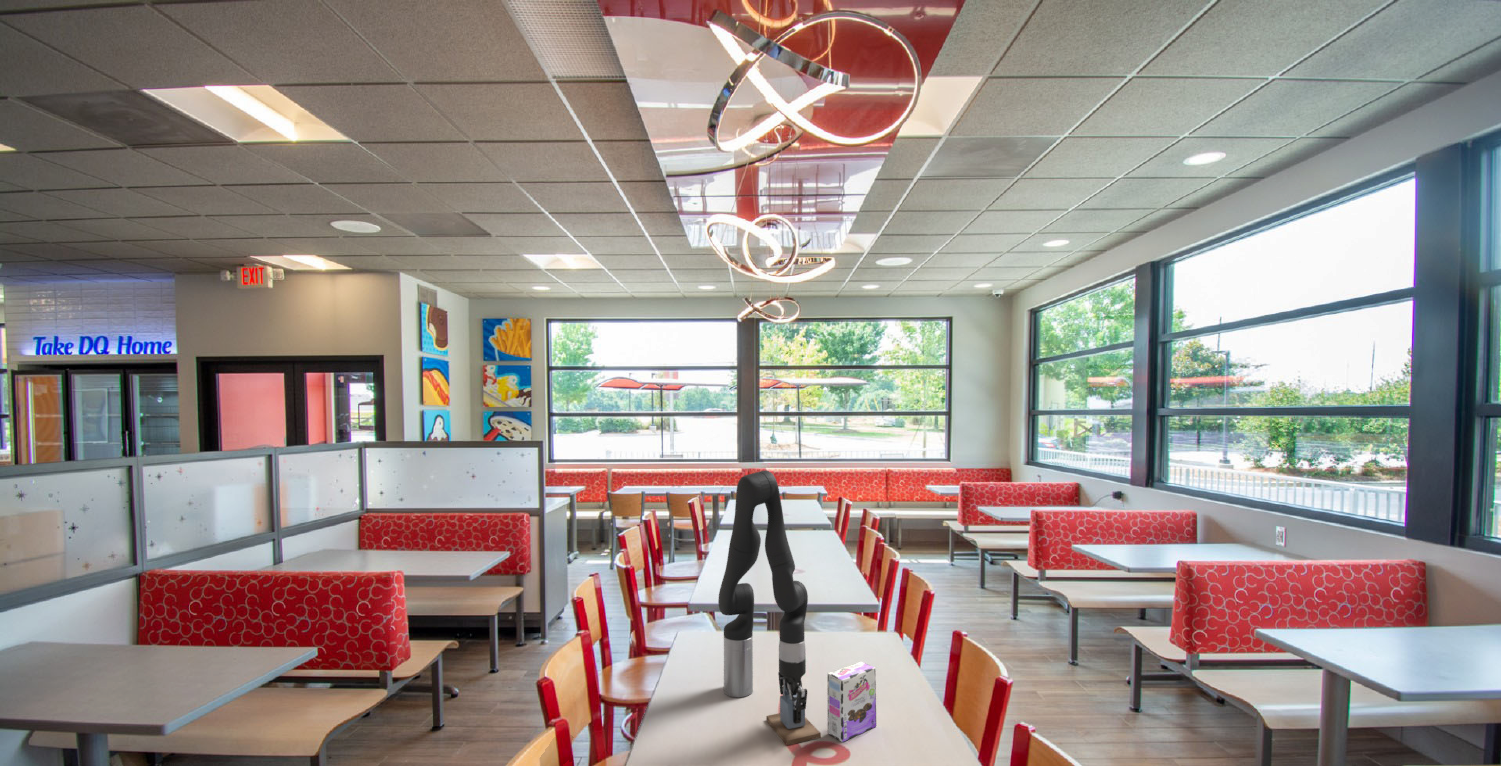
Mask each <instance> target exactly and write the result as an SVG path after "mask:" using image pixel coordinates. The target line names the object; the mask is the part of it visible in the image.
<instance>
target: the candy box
mask: <svg viewBox="0 0 1501 766" xmlns="http://www.w3.org/2000/svg"><path fill="white" fill-rule="evenodd" d="M876 681H877V679H876V667H875V666H873V665H870V664H868V663H865V662H863V661H859V662H857V663H854V664H851V665H848V666H844V667H842V668H840V669H839V668H838V669H837V670H834V671H831V672H827V734H829V735H830V736H832V737H833V738H835V739H836V740H838V741H840V742H841V743H842V742H845V741H848V740H850V739H852V738H854V737H856V736H859V735H861V734H863V733H866V732H867V731H870V730H872V729H874V728H877V689H876V688H877V686H876V685H877V684H876Z"/></svg>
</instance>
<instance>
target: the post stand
mask: <svg viewBox="0 0 1501 766" xmlns="http://www.w3.org/2000/svg"><path fill="white" fill-rule="evenodd" d="M765 719H766V720H765V721H767V723H768V724H769V725H770V726H771V728H772V729H773V730H774V731H775V732H776V734H778V736H779V737H780V738H781V739H782V740H783V742H784V743H785V745H787V746H790V745H794V744H799V743H803V742H807V741H811V740H817V739H821V737H822V736H821V735H822V733H821V732H820V730H818V729H817V727H816V726H815V725H814V724H812V722H811V721H810V720H809V719H808V718H807V717H806V716H805V726H801V727H796V728H792V729H788V728H787V727H786V726H785V725H784V724H783V723H782V722H781V721H780V712H778V713H774V714H769V715H766V718H765ZM816 738H817V739H816Z"/></svg>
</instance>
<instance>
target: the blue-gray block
mask: <svg viewBox="0 0 1501 766" xmlns="http://www.w3.org/2000/svg"><path fill="white" fill-rule="evenodd" d="M793 697H797V695H793ZM796 701H797V700H796ZM796 701H795V702H796ZM779 707H780V708H779V713H780V721H781V722H782V723H783V724H784V725H785V726H786V727H787V728H788V729H792V728H796V727H801V726H805V717H806V709H804V710H801V723H797V724H795V723H794V722H793V703H792V701H791V700H790V695H786V696H785V695H784V696H783V695H780V696H779Z"/></svg>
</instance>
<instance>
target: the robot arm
mask: <svg viewBox="0 0 1501 766" xmlns="http://www.w3.org/2000/svg"><path fill="white" fill-rule="evenodd" d="M735 493H736V494H735V509H734V518H733V525H732V533H731V535H730V539H729V540H730V541H729V545H728V553H727V559H726V560H727V561H726V566H725V571H724V573H723V578H722V581H721V584H720V588H719V592H718V608H719V611H720V613H721V614H722V615H724V616H737V617H736V618H734V619H733V620H732V621H729V622H728V623H726V624H725V626H724V627H723V692H724V694H725V695H726V696H729V697H732V698H743V697H747V696H749V695H751V694H752V693H753V692H754V689H753V688H754V682H753V679H754V675H753V674H754V671H753V669H754V666H753V663H754V662H753V661H754V660H753V659H754V655H753V654H754V651H753V650H754V649H753V646H754V645H753V644H754V643H753V642H754V641H753V635H754V634H753V631H754V618H755V616H754V611H755V594H754V589H753V587H752V585H751V584H750V583H748V582H742V583H741V582H740V581H741V579H742V578H743V577H744V576H745V575H746V574H747V573H748V572H749V571H750V570H751V569H752V567H754V565H755V564H756V562H757V560H758V558H759V554H760V553H759V552H760V549H761V542H762V540H761V538H762V537H761V535H760V532H759V530H758V528H757V527H756V524H755V523H754V519H753V518H754V512H755V509H756V507H757V506H759V505H763V504H765V507H766V512H767V525H766V526H767V527H766V531H765V532H766V533H765V539H764V550H765V551H764V552H765V554H766V558H767V562H768V564H769V568H770V571H771V580H772V589H773V590H772V591H773V597H774V600H775V603H776V604H777V607H778V608H779V609H780V610H781V611H782V612H783V616H782V618H780V621H779V643H778V673H777V674H778V683H779V692H780V695H782V696H784V695H785V696H786V695H790V700H791V701H792V703H793V722H794V723H795V724H797V723H801V710H804V709H805V710H806V707H807V698H808V689H807V688H803V683H802V677H804V675H805V674H806V672H807V671H806V669H807V668H806V662H807V660H806V641H805V620H806V616H807V611H808V610H807V609H808V604H809V603H808V602H809V601H808V600H809V599H808V598H809V597H808V596H809V595H808V590H807V588H806V586H805V585H804V583H803V582H801V581H799V580H794V576H793V575H794V572H795V570H796V565H795V560H794V557H793V554H792V551H791V547H790V545H789V540H788V538H787V537H788V536H787V532H786V527H785V521H784V520H785V519H784V513H783V506H782V501H781V494H780V493H781V492H780V487H779V485H778V481H777V479H776V477H775V475H774V474H773V473H772V471H769V470H761V471H757V472H753V473H749V474H746V475H744V476H742V477H741V478H739V480H738V483H737V485H736V492H735ZM739 582H740V583H739ZM793 695H797V697H793ZM796 700H797V701H796ZM795 701H796V702H795Z"/></svg>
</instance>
